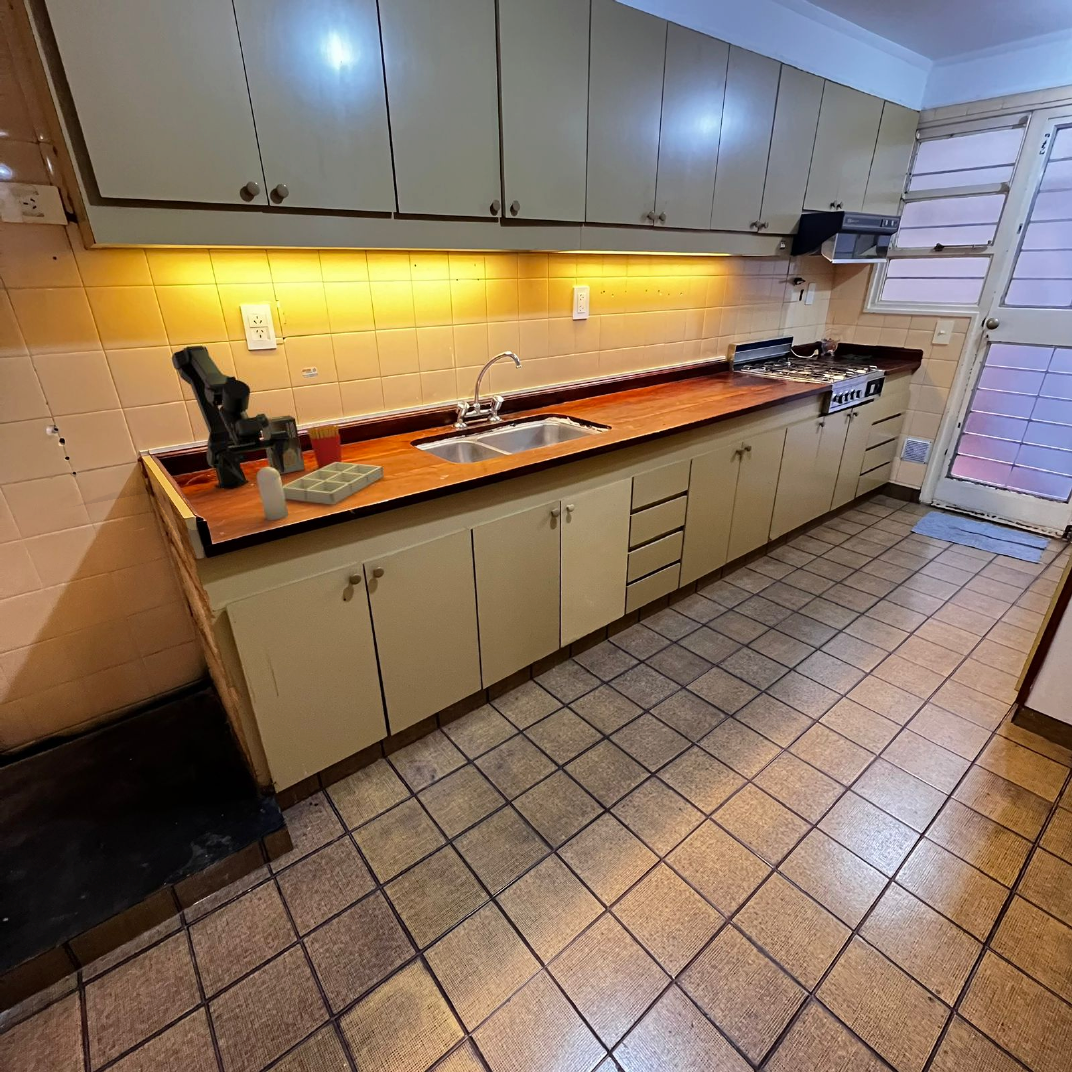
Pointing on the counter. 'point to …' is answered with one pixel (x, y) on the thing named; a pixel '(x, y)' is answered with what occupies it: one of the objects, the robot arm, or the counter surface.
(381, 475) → the divided tray
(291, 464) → the coffee box
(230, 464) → the robot arm
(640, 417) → the counter surface
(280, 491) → the white rounded cylinder
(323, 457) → the french fries
